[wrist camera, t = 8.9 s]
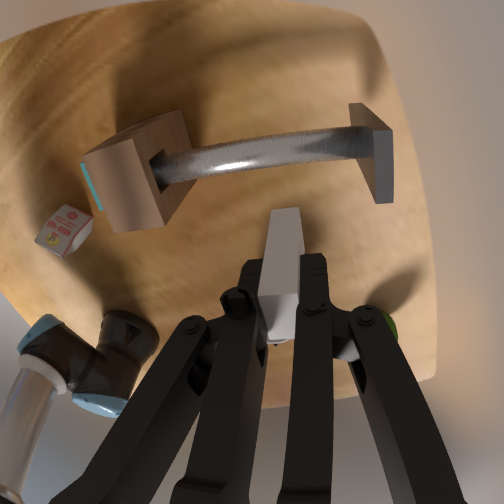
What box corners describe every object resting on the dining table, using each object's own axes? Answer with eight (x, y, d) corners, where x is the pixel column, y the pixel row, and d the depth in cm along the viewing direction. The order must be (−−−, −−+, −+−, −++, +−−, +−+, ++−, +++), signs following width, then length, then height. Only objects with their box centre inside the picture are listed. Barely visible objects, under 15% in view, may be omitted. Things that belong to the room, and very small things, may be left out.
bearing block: (158, 183, 44) (114, 233, 33) (137, 121, 38) (81, 156, 27) (200, 174, 42) (165, 226, 31) (181, 108, 36) (132, 138, 26)
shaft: (161, 181, 38) (116, 232, 28) (146, 139, 34) (92, 179, 25) (366, 153, 32) (393, 202, 22) (361, 102, 28) (392, 130, 19)
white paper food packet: (91, 231, 52) (63, 265, 44) (64, 217, 51) (34, 248, 43) (93, 217, 49) (63, 250, 42) (65, 202, 48) (33, 233, 41)
